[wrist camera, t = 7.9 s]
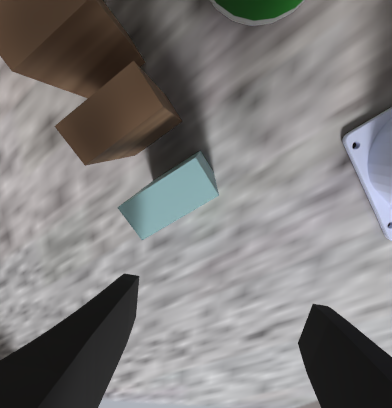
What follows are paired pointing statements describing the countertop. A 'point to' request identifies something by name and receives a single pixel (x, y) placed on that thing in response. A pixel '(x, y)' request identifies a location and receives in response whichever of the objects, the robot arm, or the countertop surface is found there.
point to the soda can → (256, 10)
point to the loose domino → (171, 196)
